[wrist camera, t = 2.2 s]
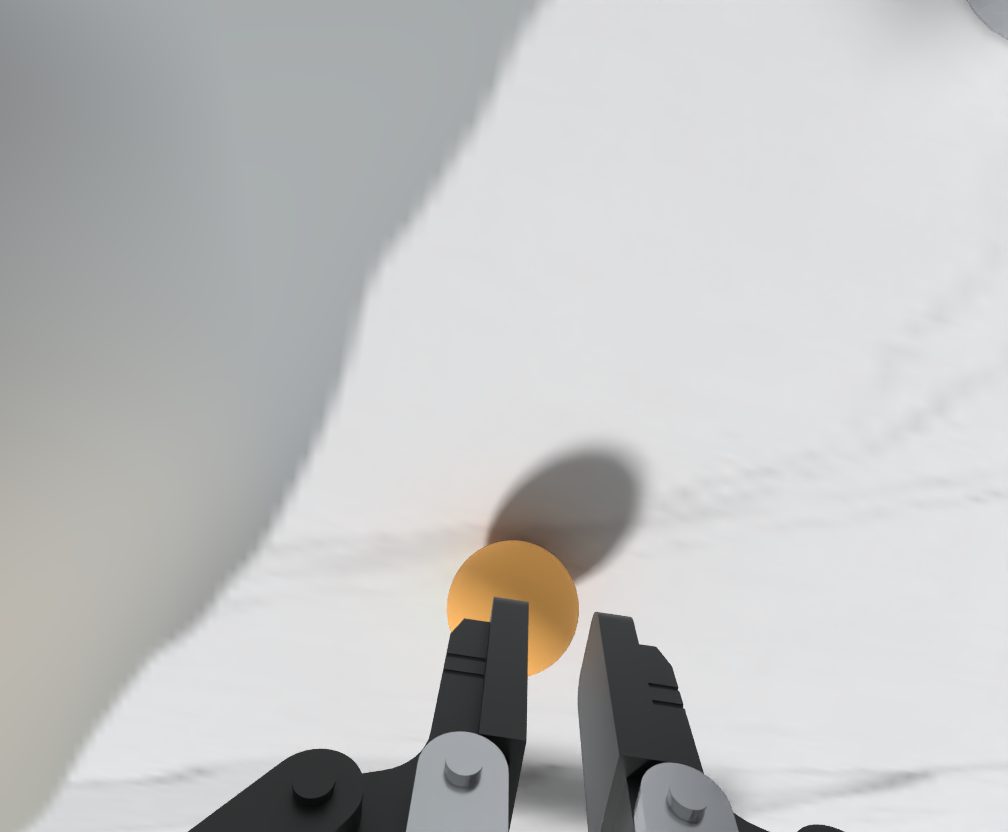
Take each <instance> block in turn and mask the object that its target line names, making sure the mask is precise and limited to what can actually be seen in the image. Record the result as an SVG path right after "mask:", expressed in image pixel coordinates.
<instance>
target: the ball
mask: <svg viewBox="0 0 1008 832" xmlns="http://www.w3.org/2000/svg"><path fill="white" fill-rule="evenodd" d="M493 597H500V598H506V599H513V600H520V601H527V602H529V625H528V676H531V675H534V674H537V673H539V672H541V671H543V670H545V669H546V668H548V667H550V666H551V665H552V664H554V663H555V662H556V661H557V660H558V659H559V658H560V657H561V656H562V655H563V653H564V652H565V651H566V650H567V648H568V646H569V645H570V643H571V641H572V639H573V636H574V634H575V631H576V627H577V623H578V616H579V602H578V596H577V591H576V588H575V585H574V582H573V580H572V578H571V576H570V574H569V572H568V571H567V569H566V568H565V566H564V565H563V564H562V563H561V562H560V561H559V560H558V559H557V558H556V557H555V556H554V555H553V554H552V553H550V552H549V551H547V550H546V549H544V548H542V547H540V546H538V545H535V544H532V543H529V542H525V541H518V540H507V541H500V542H496V543H493V544H490V545H488V546H485V547H483V548H482V549H480V550H478V551H477V552H475V553H474V554H473V555H471V556H470V557H469V558H468V559H467V560H466V561H465V562H464V563H463V565H462V566H461V567H460V569H459V570H458V572H457V573H456V575H455V577H454V579H453V582H452V584H451V587H450V590H449V595H448V601H447V615H448V623H449V627H450V631H451V632H452V631H453V630H454V629H455V628H456V627H457V626H458V625H459V624H460V623H461V621H462V620H463V619H464V618H466V619H472V620H479V621H486V622H490V616H491V609H492V603H493Z"/></svg>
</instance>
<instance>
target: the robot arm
mask: <svg viewBox="0 0 1008 832" xmlns="http://www.w3.org/2000/svg"><path fill="white" fill-rule="evenodd" d="M967 1H968V2H969V4H970V6H971V8H972V10H973V11H974V13H975V14H976V15H977V16H978V17H979V18H980V19H981V20H982V21H983V22H984V23H985V24H986V25H987V26H988V27H989V28H990V29H991V30H992V31H994V32H995V33H997V34H999V35H1001V36H1002V37H1004V38H1006V39H1007V40H1008V0H967ZM528 625H529V602H527V601H520V600H513V599H506V598H500V597H493V603H492V609H491V616H490V622H486V621H479V620H472V619H466V618H464V619H463V620H462V621H461V623H460V624H459V625H458V626H457V627H456V628H455V629H454V630H453V631H452V632H451V634H450V639H449V644H448V649H447V654H446V659H445V664H444V669H443V674H442V679H441V684H440V688H439V693H438V698H437V703H436V708H435V713H434V718H433V723H432V728H431V733H430V736H429V739H428V741H427V743H426V745H425V747H424V748H423V749H422V751H421V752H420V753H419V754H418V755H417V756H416V757H414V758H413V759H411V760H410V761H409V762H407V763H405V764H403V765H401V766H398V767H395V768H392V769H387V770H382V771H376V772H369V773H361V771H360V769H359V767H358V766H357V764H356V763H355V762H354V761H353V760H352V759H351V758H349V757H348V756H346V755H345V754H342V753H340V752H338V751H334V750H329V749H312V750H306V751H303V752H300V753H297V754H295V755H293V756H290V757H289V758H287V759H285V760H284V761H282V762H281V763H280V764H278V765H277V766H276V767H274V768H273V769H272V770H270V771H269V772H268V773H266V774H265V775H263V776H262V777H261V778H259V779H258V780H257V781H255V782H254V783H253V784H251V785H250V786H249V787H247V788H246V789H245V790H243V791H242V792H241V793H239V794H238V795H237V796H235V797H234V798H233V799H231V800H230V801H229V802H227V803H226V804H224V805H223V806H222V807H220V808H219V809H218V810H216V811H215V812H214V813H212V814H211V815H210V816H208V817H207V818H206V819H204V820H203V821H202V822H200V823H199V824H198V825H196V826H195V827H194V828H192V829H191V830H190V831H188V832H509V829H510V824H511V818H512V813H513V808H514V803H515V797H516V792H517V787H518V782H519V777H520V771H521V766H522V761H523V756H524V750H525V745H526V733H527V679H528ZM578 715H579V727H580V739H581V750H582V762H583V774H584V786H585V798H586V810H587V822H588V832H769V831H766V830H764V829H762V828H759V827H757V826H755V825H753V824H751V823H749V822H747V821H745V820H744V819H742V818H740V817H739V816H737V815H736V814H735V813H733V810H732V807H731V805H730V802H729V800H728V799H727V797H726V795H725V794H724V792H723V791H722V790H721V788H720V787H719V786H718V785H717V784H716V783H715V782H714V781H712V780H711V779H710V778H709V777H708V776H706V775H705V774H704V772H703V769H702V766H701V762H700V759H699V756H698V752H697V749H696V746H695V742H694V739H693V736H692V732H691V729H690V725H689V722H688V719H687V715H686V712H685V709H683V702H682V699H681V695H680V692H679V691H678V685H677V682H676V678H675V675H674V672H673V668H672V666H671V665H670V663H669V662H668V661H667V660H666V658H665V657H664V656H663V655H662V653H661V652H660V651H659V650H658V648H657V647H654V646H647V645H640V644H639V643H638V638H637V634H636V630H635V626H634V622H633V619H632V617H627V616H621V615H614V614H607V613H600V612H595V613H594V615H593V618H592V622H591V626H590V631H589V635H588V640H587V645H586V649H585V654H584V659H583V663H582V668H581V673H580V678H579V687H578ZM798 832H844V831H841V830H839V829H836V828H833V827H830V826H825V825H808V826H806V827H803V828H801V829H800V830H799V831H798Z"/></svg>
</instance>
